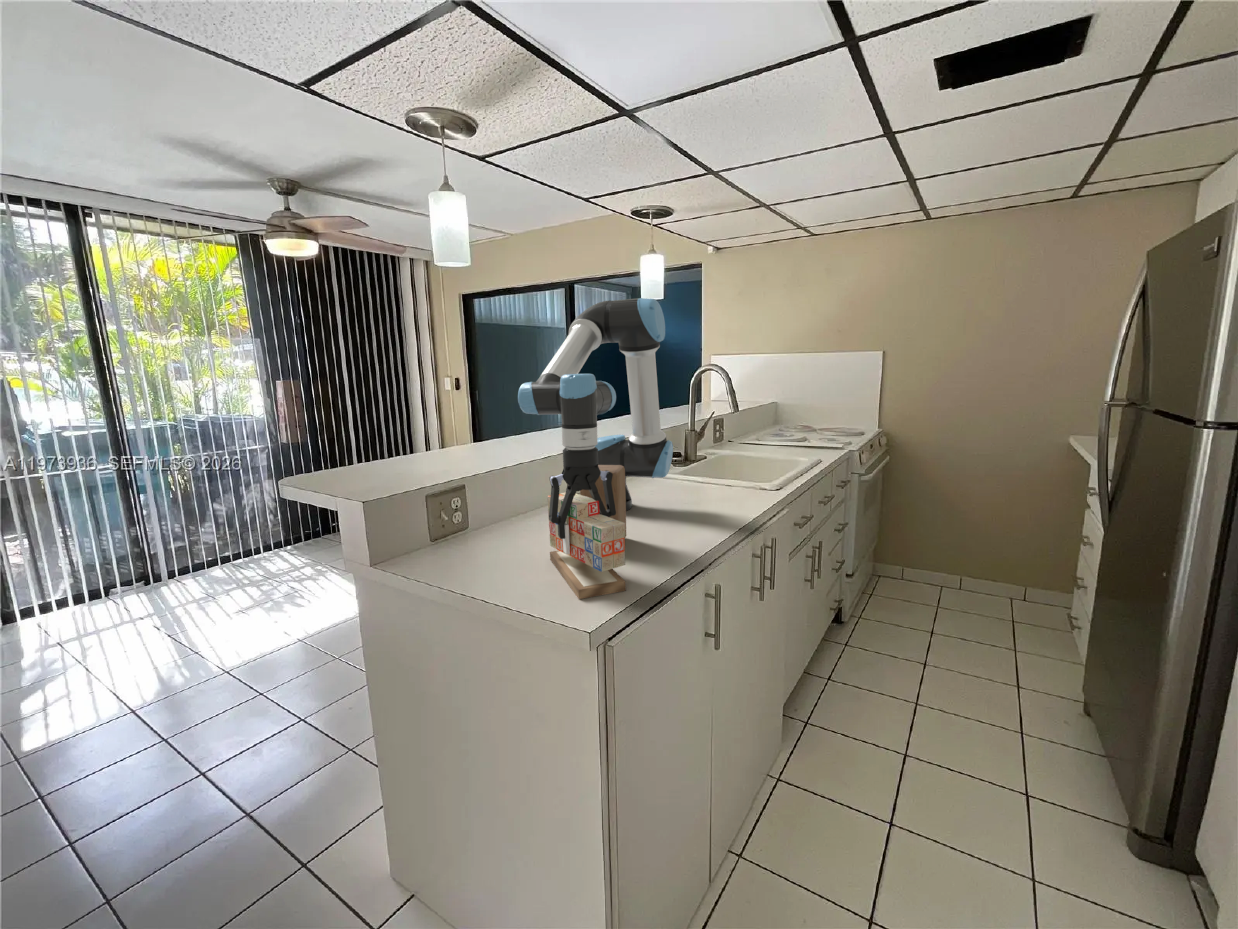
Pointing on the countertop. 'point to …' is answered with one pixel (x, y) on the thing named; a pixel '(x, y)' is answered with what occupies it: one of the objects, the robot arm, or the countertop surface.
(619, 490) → the block
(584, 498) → the stack of blocks
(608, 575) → the picture frame
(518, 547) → the countertop surface
